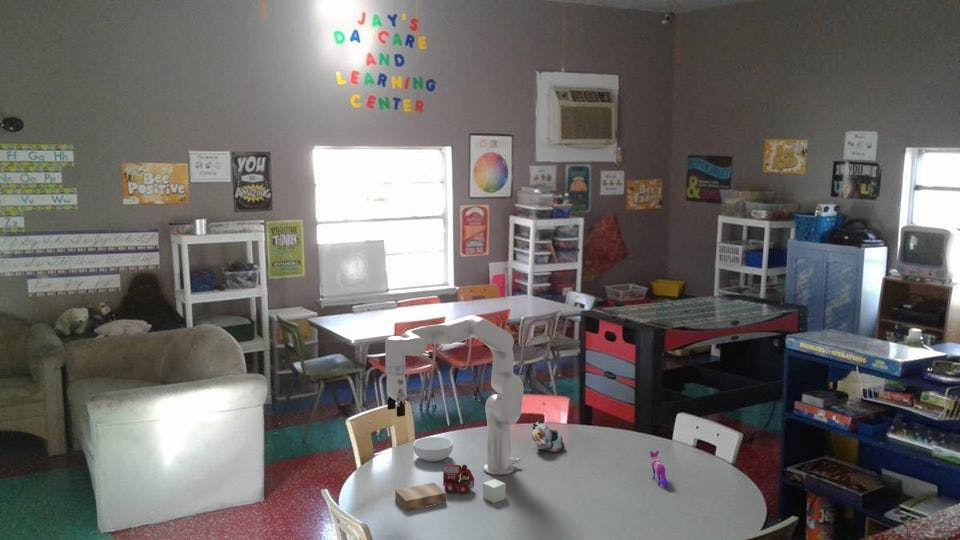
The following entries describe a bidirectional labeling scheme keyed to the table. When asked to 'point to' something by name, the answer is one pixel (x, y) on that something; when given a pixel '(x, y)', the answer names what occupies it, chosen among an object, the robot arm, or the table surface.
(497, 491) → the sage cube
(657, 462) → the toy dog
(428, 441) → the cereal bowl
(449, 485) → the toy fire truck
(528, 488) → the table surface
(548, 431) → the lucky cat figurine
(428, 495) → the tan block
